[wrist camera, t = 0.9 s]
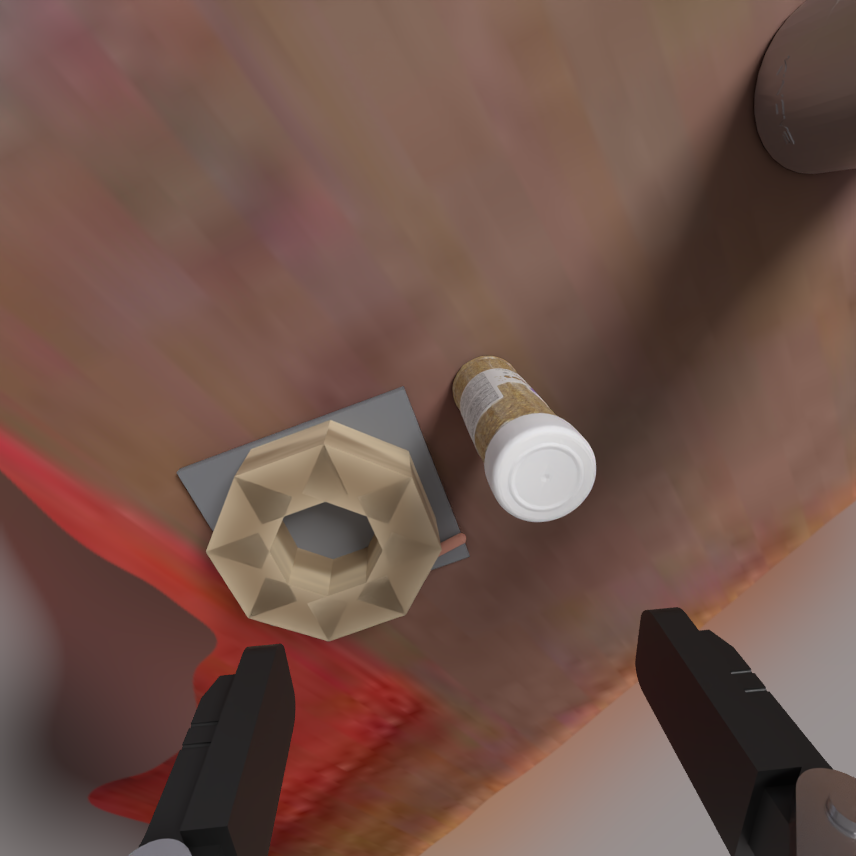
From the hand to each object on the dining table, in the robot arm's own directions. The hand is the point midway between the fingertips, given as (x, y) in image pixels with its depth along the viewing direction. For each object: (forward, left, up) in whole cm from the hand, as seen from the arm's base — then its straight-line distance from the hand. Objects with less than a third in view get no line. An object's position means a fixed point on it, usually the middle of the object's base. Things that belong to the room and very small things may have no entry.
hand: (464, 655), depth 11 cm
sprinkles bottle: (-4, +2, -23) cm, 24 cm away
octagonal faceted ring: (+9, +7, -22) cm, 25 cm away
